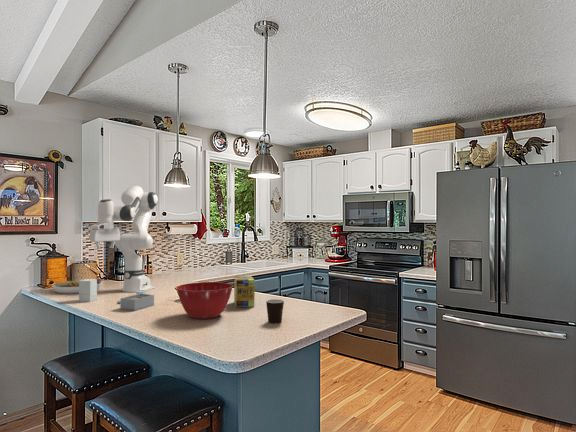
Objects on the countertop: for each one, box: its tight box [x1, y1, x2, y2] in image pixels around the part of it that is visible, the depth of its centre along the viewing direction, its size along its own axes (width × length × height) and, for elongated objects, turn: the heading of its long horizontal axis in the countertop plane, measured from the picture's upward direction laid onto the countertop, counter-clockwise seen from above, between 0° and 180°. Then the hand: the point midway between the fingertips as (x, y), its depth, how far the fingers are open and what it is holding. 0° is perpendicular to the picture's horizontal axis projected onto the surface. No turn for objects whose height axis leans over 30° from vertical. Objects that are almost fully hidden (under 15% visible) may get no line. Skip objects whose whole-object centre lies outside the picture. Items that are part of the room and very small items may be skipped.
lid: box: [117, 291, 147, 302], centre depth 234 cm, size 16×11×4 cm
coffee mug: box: [266, 298, 285, 325], centre depth 191 cm, size 12×9×10 cm
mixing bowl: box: [176, 281, 234, 320], centre depth 201 cm, size 28×28×16 cm
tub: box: [119, 293, 155, 312], centre depth 219 cm, size 15×10×6 cm, turn 158°
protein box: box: [233, 275, 256, 309], centre depth 227 cm, size 10×15×16 cm
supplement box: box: [78, 278, 98, 303], centre depth 235 cm, size 7×7×13 cm
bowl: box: [51, 278, 103, 295], centre depth 269 cm, size 30×30×8 cm
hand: (105, 248), depth 237 cm, fingers open, 8 cm apart
